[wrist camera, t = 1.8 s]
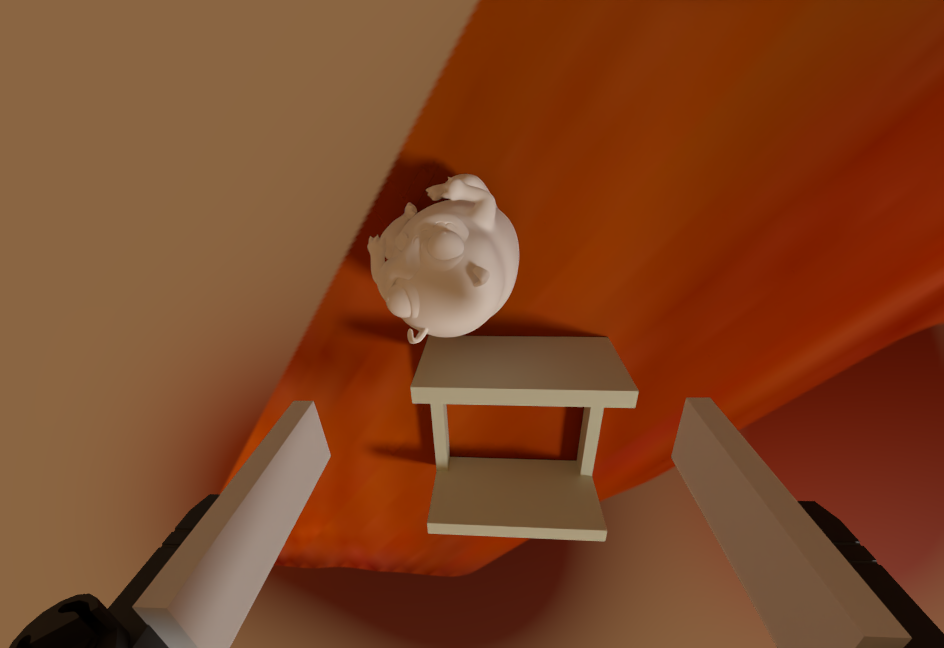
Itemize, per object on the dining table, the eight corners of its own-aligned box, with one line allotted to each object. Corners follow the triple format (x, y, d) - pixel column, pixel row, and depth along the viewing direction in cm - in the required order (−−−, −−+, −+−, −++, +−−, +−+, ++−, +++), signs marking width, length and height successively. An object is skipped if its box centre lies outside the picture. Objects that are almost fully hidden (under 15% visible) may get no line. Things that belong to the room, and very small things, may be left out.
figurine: (541, 261, 30) (565, 327, 19) (447, 319, 33) (423, 404, 22) (473, 153, 27) (458, 160, 16) (375, 227, 30) (307, 276, 19)
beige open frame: (428, 335, 34) (410, 387, 27) (607, 337, 33) (638, 391, 26) (440, 465, 41) (428, 533, 34) (585, 470, 40) (605, 541, 33)
